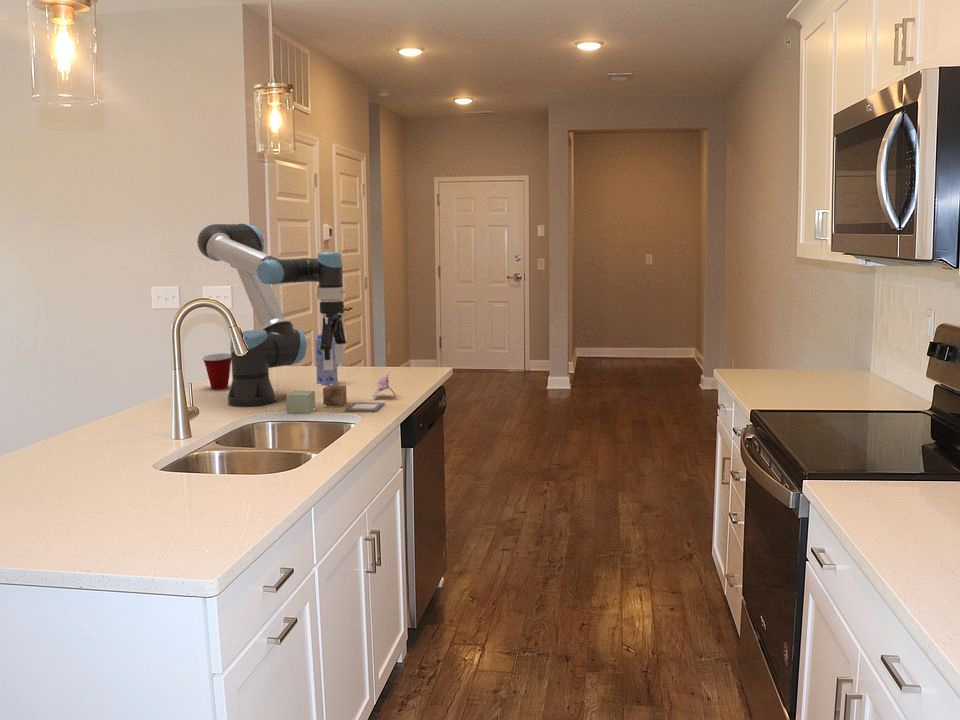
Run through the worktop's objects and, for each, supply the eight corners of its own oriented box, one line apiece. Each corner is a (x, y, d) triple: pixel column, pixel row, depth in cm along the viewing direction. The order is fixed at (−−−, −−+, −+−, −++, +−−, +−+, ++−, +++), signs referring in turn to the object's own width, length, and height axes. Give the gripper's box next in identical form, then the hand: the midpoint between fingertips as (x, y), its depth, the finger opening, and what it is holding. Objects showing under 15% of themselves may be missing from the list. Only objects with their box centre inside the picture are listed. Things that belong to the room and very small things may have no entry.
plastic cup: (197, 389, 318) (195, 356, 316) (215, 384, 328) (213, 352, 326) (223, 391, 314) (221, 357, 313) (240, 386, 324) (239, 353, 323)
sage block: (286, 413, 275) (286, 394, 274) (293, 409, 281) (293, 390, 281) (308, 414, 274) (308, 394, 273) (315, 409, 281) (314, 390, 280)
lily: (382, 396, 308) (368, 373, 304) (410, 384, 304) (397, 361, 301) (373, 413, 297) (358, 389, 294) (403, 401, 293) (388, 377, 290)
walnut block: (323, 406, 284) (322, 388, 284) (328, 403, 290) (328, 385, 290) (341, 407, 284) (341, 388, 283) (346, 403, 290) (346, 385, 289)
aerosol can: (342, 383, 328) (340, 329, 325) (325, 386, 322) (323, 331, 320) (329, 381, 333) (327, 328, 331) (312, 383, 328) (310, 329, 325)
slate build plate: (344, 411, 276) (344, 409, 276) (354, 404, 287) (354, 402, 287) (376, 412, 274) (376, 410, 274) (384, 404, 286) (384, 402, 286)
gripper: (332, 303, 270) (335, 372, 272) (352, 297, 294) (355, 361, 297) (308, 303, 270) (311, 372, 273) (330, 298, 295) (333, 361, 298)
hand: (334, 367), depth 285 cm, fingers open, 13 cm apart
